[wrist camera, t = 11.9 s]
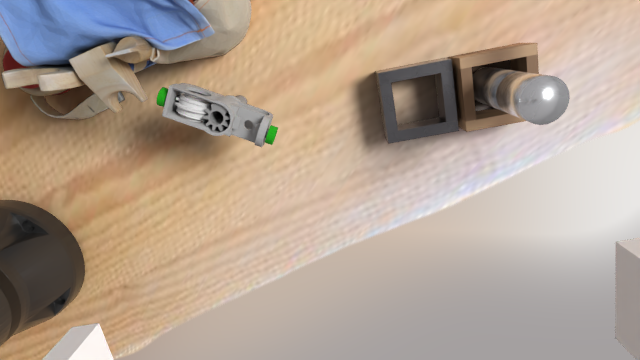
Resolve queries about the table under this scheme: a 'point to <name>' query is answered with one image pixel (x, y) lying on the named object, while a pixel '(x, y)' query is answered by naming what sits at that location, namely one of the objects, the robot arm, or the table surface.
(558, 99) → the dome-ended metal rod
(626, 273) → the robot arm
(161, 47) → the toy tool belt
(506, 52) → the open square brown box
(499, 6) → the table surface
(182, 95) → the mechanical component
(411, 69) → the socket
